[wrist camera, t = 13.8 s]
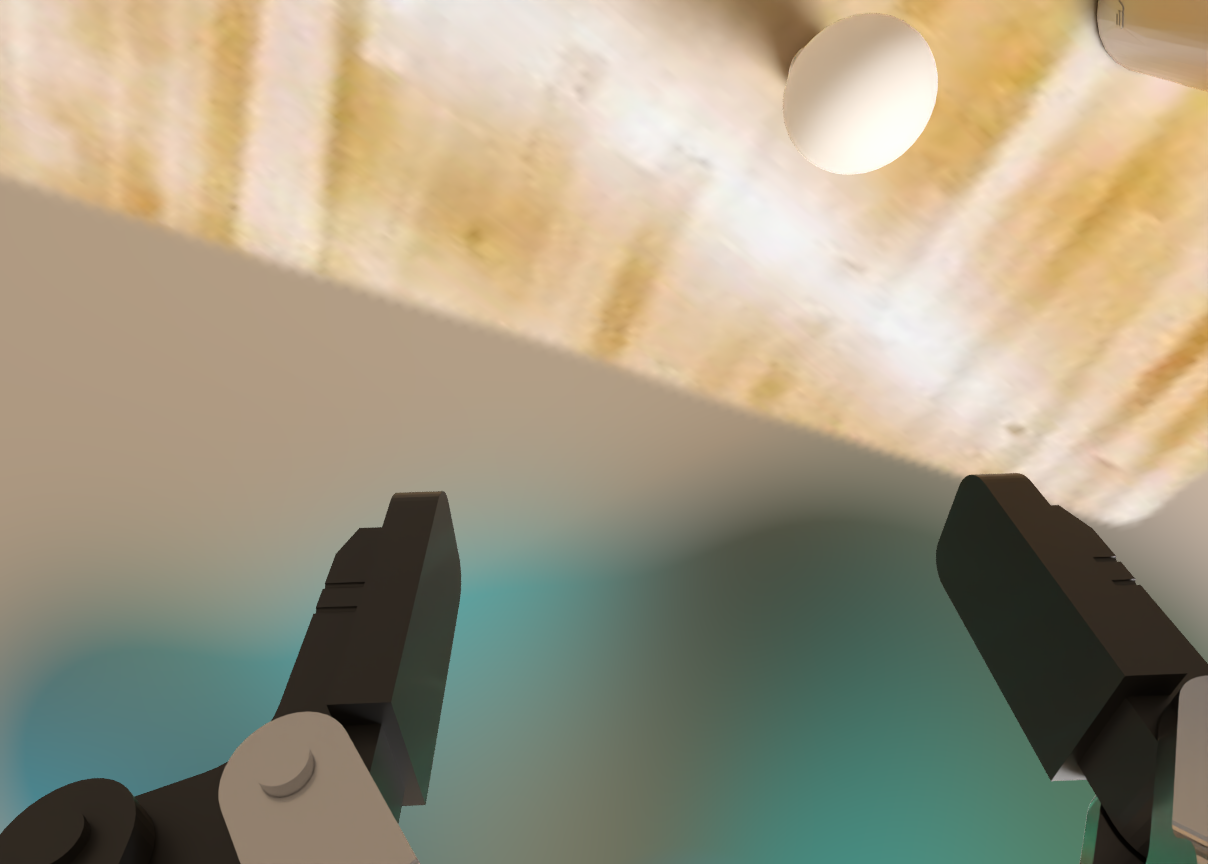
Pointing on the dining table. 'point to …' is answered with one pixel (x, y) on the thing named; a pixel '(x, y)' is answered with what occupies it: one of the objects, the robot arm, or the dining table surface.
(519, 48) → the dining table surface
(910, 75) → the light bulb
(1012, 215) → the dining table surface
